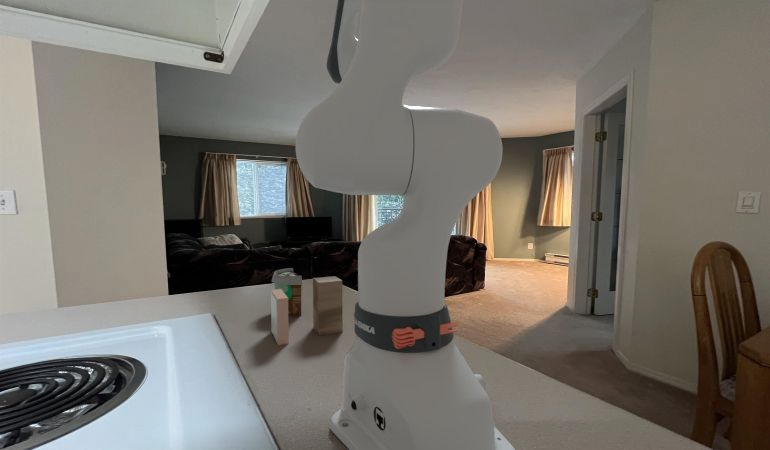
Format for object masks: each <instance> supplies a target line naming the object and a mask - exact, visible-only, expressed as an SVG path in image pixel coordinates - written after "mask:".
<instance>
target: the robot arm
mask: <svg viewBox="0 0 770 450" xmlns="http://www.w3.org/2000/svg"><path fill="white" fill-rule="evenodd" d="M463 2H464V0H337V5H336V11H335V17H334V24H333V30H332V36H331V37H332V38H331V44H330V48H329V51H328V54H327V59H326V70H327V72H328V74H329V76H330V77H331V79H332V81H333V82H334V83H335V84H338V85H337V86H336V87H335V88H334V90H333V91H332V92H331V93H330V94H329V95H328V96H327V97H325V99H323V100H322V101H321V102H320V103H318V104H317V105H316V106H314V107H313V108H311V110H310V111H309V112H307V114H306V115H305V116H304V118H303V119H302V121H301V122H300V125H299V126H298V127H299V128H298V129H297V133H296V137H295V155H296V160H297V164H298V166H299V168H300V171H301V173H302V175H303V176H304V177H305V179H306V180H307V181H308V182H309V184H311V185H312V186H313V187H314V188H316V189H321V190H325V191H328V192H329V191H330V192H334V193H338V194H339V193H340V194H345V195H350V196H400V197H403V205H402V208H401V211H400V212H399V214H398V216H396V218H394V219H393V220H391V221H388V222H387V223H384V224H382V225H380V226H379V227H377V228H375V229H373V231H371V232H369V233H368V234H367V235H366V236H365V237H364V238H363V240H362V241H361V243H360V244H359V245H360V246H359V248H358V252H357V272H358V273H357V292H358V293H357V302H356V303H355V305H354V313H353V322H354V334H355V335H356V337H355V339H354V342H353V344H352V345H351V347H350V349H349V350H348V351H347V353H346V355H345V356H344V359H343V369H342V370H343V373H342V387H341V388H342V389H341V390H342V392H341V404H340V406H341V407H340V408H339V409H338V410H337V411H336V412H335V413H333V415H332V416H331V418H330V423H329V428H330V431H331V432H332V433H333V434H334V435H335V436H336V437H337V438H338V439H339V440H340V441H341V442H342V444H344V445H345V446H346V447H347V449H348V450H516V449H515V447H514V446H513V444H511V443H510V441H508V440H507V438H506V437H505V436H504V435H503V434H502V433H501V432H500V431H499V429H498V428H497V426H495V421H494V420H495V419H494V413H493V407H492V402H491V399H490V397H489V394H487V392H486V390H487V389H486V387H487V386H486V382H485V379H484V377H483V376H482V375H481V374H478V373H476V374H474V372H473V370H472V369H471V367H470V366H469V364H468V363H467V361H466V360H465V358H464V356H463V355H462V353H461V351H460V349H458V347H457V346H456V343H455V342H454V337H455V335H454V333H458V331H459V330H458V329H453V328H454V327H456V326H458V322H455V321H453V322H452V319H451V314H450V313H449V308H448V305H447V304H446V303H445V293H446V292H445V290H446V289H445V288H446V287H445V286H446V271H447V270H446V269H447V260H448V250H449V244H450V239H451V237H452V233H453V231H454V229H455V226H456V223H457V222H458V220H459V218H460V216H461V214H462V213H463V211H464V210H465V209H466V208H467V206H468V205H469V203H470V202H471V201H472V200H473V198H474V199H475V197H476V196H477V195H478V194H479V193H480V192H481V191H484V190H485V189H486V188H487V187H488V186H489V185H490V184H491V183H492V182H493V180H494V179H495V177H496V176H497V174H498V172H499V170H500V167H501V164H502V160H503V149H504V148H503V142H502V138H501V137H502V136H501V134H500V132H499V129H498V128H497V126H496V124H495V122H493V121H492V119H490V118H488V117H485V116H482V115H479V114H475V113H472V112H469V111H465V110H462V109H458V108H450V107H449V108H443V107H429V106H417V105H416V106H411V105H406V104H403V98H404V97H403V96H404V93H405V91H406V87H407V86H408V84H409V83H410V82H411V81H412V80H414V79H416V78H419V77H421V76H423V75H425V74H428V73H430V72H431V71H433V70H435V69H437V68H439V67H441V66H442V65H444V64H445V63H446V62H447V61H448V60H449V59H450V57H452V55H453V54H454V52H455V50H456V48H457V46H458V42H459V39H460V29H461V24H462V23H461V20H462V13H463V4H464V3H463ZM359 17H360V19H359ZM359 20H360V21H359ZM358 22H359V29H358V36H357V37H358V38H356V32H357V25H358Z"/></svg>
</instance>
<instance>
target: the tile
mask: <svg viewBox="0 0 770 450" xmlns="http://www.w3.org/2000/svg"><path fill="white" fill-rule="evenodd" d="M270 306H271V307H270V313H271V315H270V317H271V318H270V320H271V333H272V334H273V337H274V340H275V342H276V344H277V345H278V346H282V345H289V343H290V340H289V339H290V337H289V336H290V334H289V333H290V332H289V327H290V326H289V316H288V297H287V296H286V295H285V293H284V292H283V291H282V289H276V290H275V289H271V292H270Z"/></svg>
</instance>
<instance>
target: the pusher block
mask: <svg viewBox="0 0 770 450" xmlns="http://www.w3.org/2000/svg"><path fill="white" fill-rule="evenodd" d="M312 315H313V316H312V317H313V318H312V319H313V321H312V323H313V324H312V325H313V326H312V327H313V329H314V331H315V332H316V333H317V334H318V336H320V337H321V336H325V335H331V334H338V333H342V332H343V320H344V319H343V280H342V279H341V278H339V277H338V276H335V275H334V276H324V277H323V276H322V277H312Z"/></svg>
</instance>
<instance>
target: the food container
mask: <svg viewBox="0 0 770 450" xmlns="http://www.w3.org/2000/svg"><path fill="white" fill-rule="evenodd" d="M271 283H274V290H276V289H282V291H283V292H284V293H285V295H286V296H287V297H288V317H301V316H302V285H303V279H302V275H298V274H297V273H295V272H294V268H293V267H291V268H290V267H288V268H282V269H278V270H275V271H274V272H273V275H272V278H271Z"/></svg>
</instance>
